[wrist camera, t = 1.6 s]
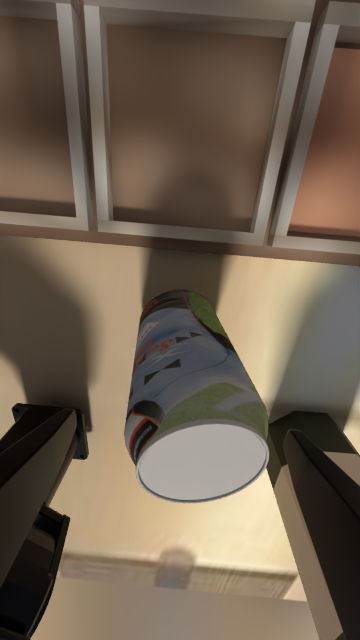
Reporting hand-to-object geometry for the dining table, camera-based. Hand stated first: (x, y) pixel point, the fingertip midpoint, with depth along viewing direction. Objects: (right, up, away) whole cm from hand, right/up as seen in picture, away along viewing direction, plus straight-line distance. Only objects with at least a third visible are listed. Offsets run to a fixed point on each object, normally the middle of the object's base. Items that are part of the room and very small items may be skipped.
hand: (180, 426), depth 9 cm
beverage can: (+1, +4, +9) cm, 10 cm away
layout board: (+1, +15, +4) cm, 16 cm away
